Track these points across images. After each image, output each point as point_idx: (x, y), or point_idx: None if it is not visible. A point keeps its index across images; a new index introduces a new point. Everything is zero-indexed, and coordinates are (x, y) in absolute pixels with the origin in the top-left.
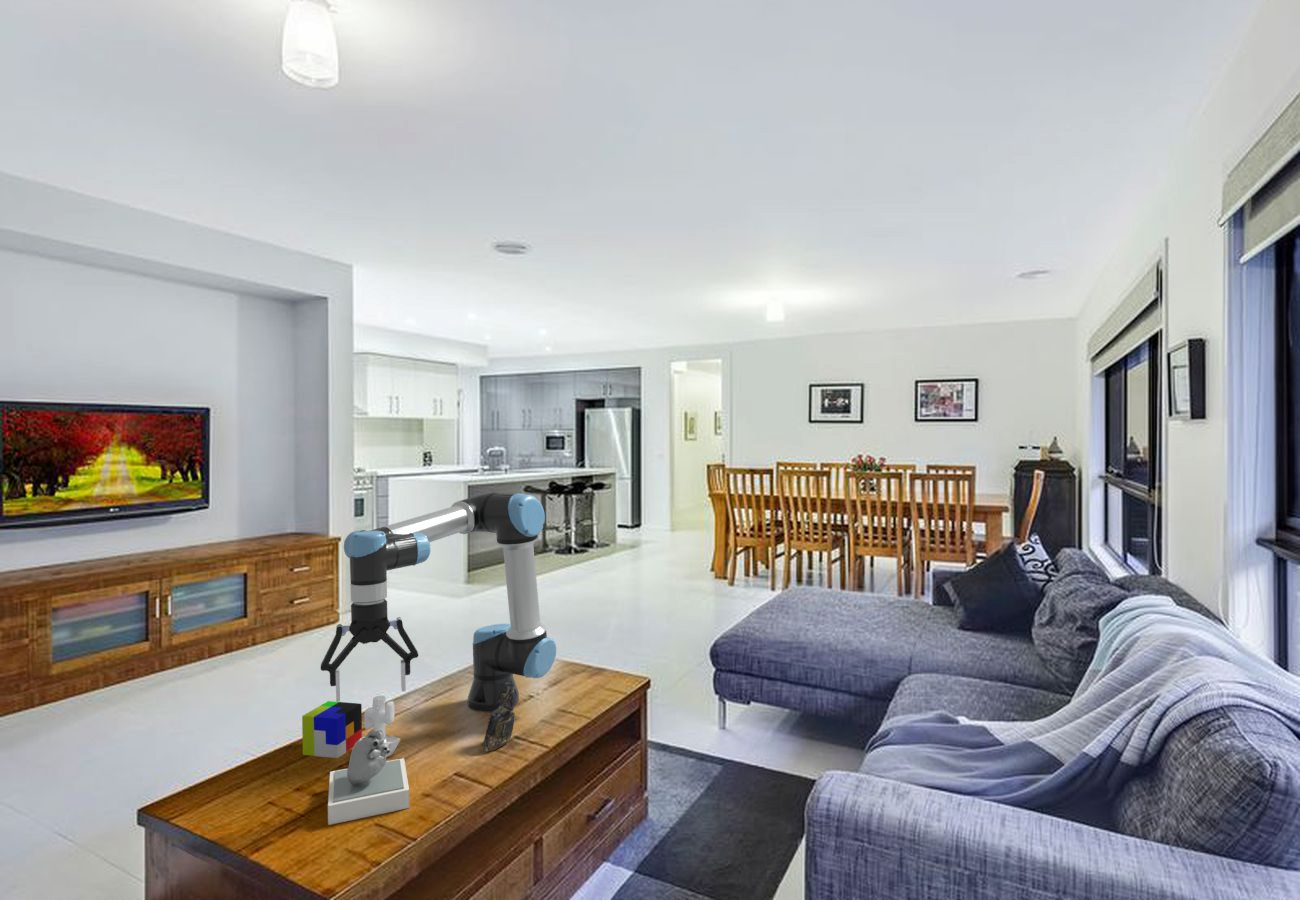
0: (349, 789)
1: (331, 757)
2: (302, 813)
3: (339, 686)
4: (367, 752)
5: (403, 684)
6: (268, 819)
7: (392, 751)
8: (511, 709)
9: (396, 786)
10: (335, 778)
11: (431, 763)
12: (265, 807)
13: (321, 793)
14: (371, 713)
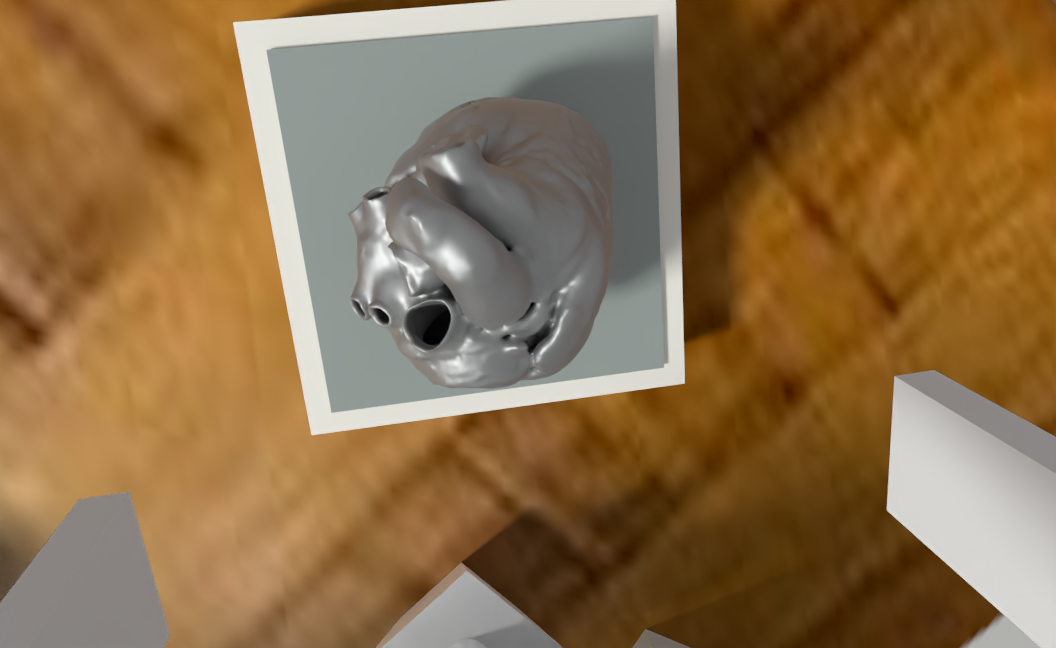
0: None
1: (670, 639)
2: (761, 158)
3: (1041, 463)
4: (503, 163)
5: (67, 552)
6: (892, 153)
7: (400, 619)
8: None
9: (313, 75)
10: (656, 287)
11: (190, 479)
12: (907, 266)
13: (692, 322)
14: None
